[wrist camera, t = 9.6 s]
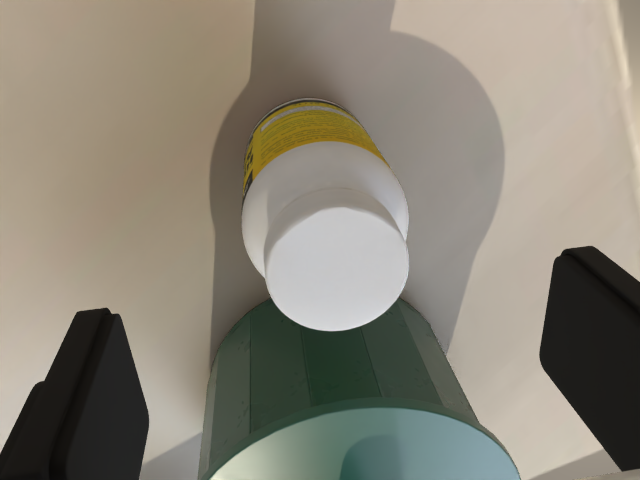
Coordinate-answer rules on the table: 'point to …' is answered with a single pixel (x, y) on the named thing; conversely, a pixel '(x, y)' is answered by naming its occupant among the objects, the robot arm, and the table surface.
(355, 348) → the pot
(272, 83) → the table surface
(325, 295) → the supplement bottle
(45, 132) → the table surface
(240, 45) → the table surface
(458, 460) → the pot lid
